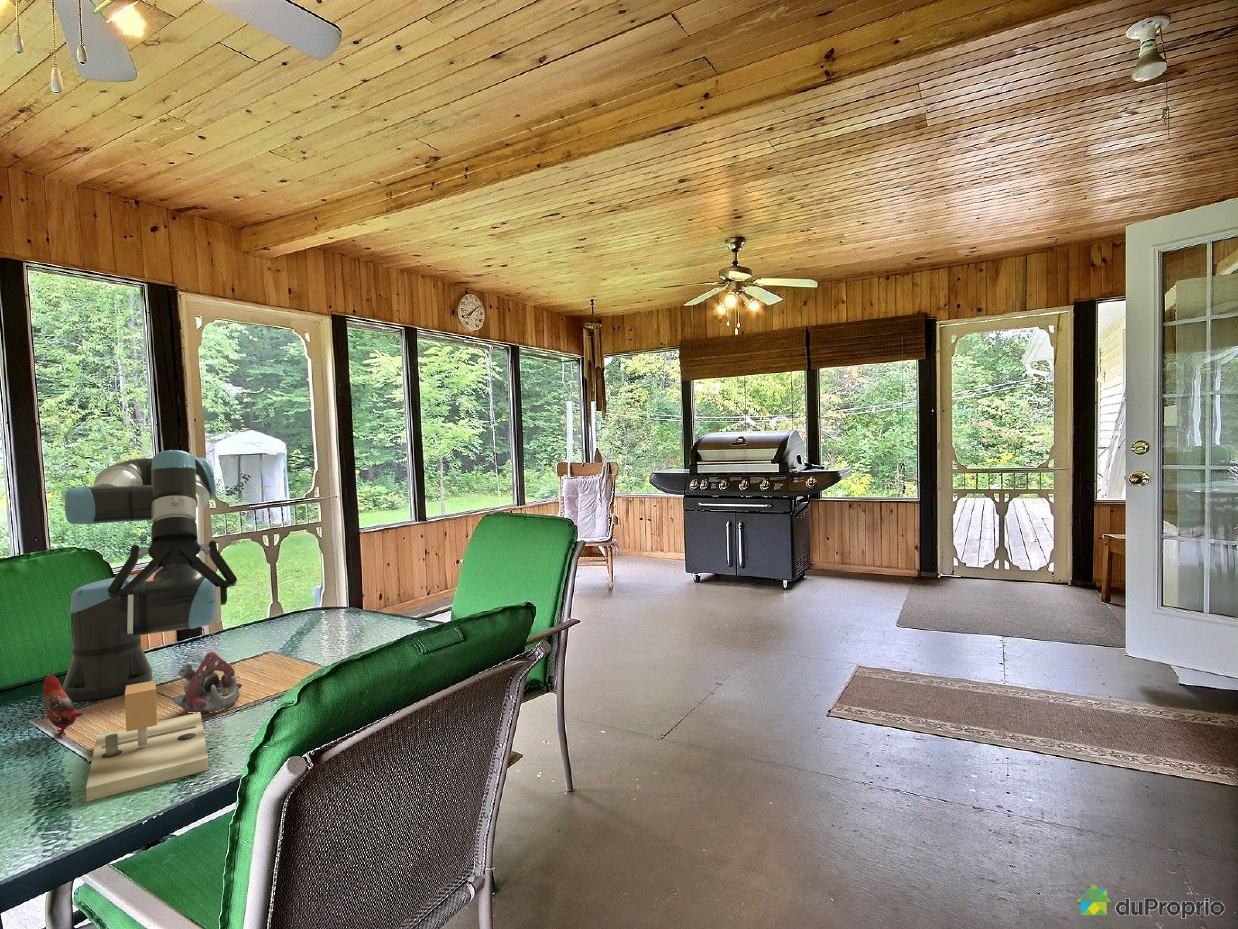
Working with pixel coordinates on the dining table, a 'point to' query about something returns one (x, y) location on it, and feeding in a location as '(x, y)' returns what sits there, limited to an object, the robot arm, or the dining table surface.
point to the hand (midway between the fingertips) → (175, 626)
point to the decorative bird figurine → (58, 704)
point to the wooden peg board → (147, 756)
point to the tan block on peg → (141, 708)
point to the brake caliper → (208, 686)
